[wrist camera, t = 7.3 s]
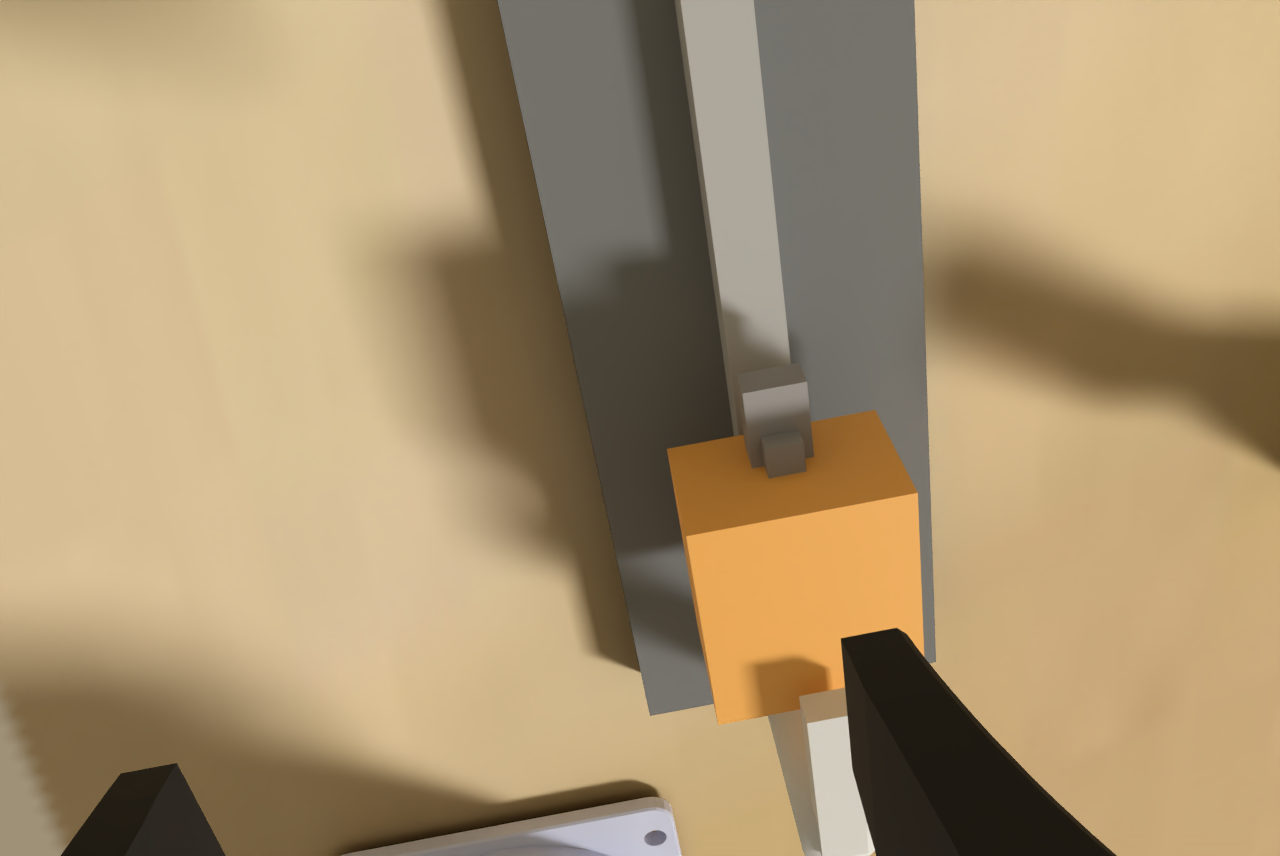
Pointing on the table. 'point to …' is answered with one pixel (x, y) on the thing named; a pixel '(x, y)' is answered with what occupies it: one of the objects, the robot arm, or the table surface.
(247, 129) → the table surface
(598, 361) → the linear slider rail
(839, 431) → the orange cube with peg
